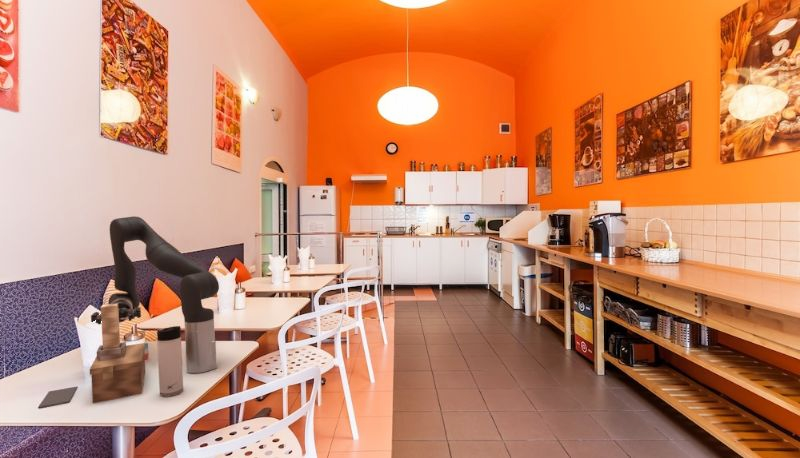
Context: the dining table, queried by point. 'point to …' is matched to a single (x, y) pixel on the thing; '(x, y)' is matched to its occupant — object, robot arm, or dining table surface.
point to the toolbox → (118, 372)
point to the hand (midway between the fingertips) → (114, 319)
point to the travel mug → (170, 361)
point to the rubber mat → (58, 397)
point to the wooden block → (110, 326)
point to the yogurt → (146, 351)
